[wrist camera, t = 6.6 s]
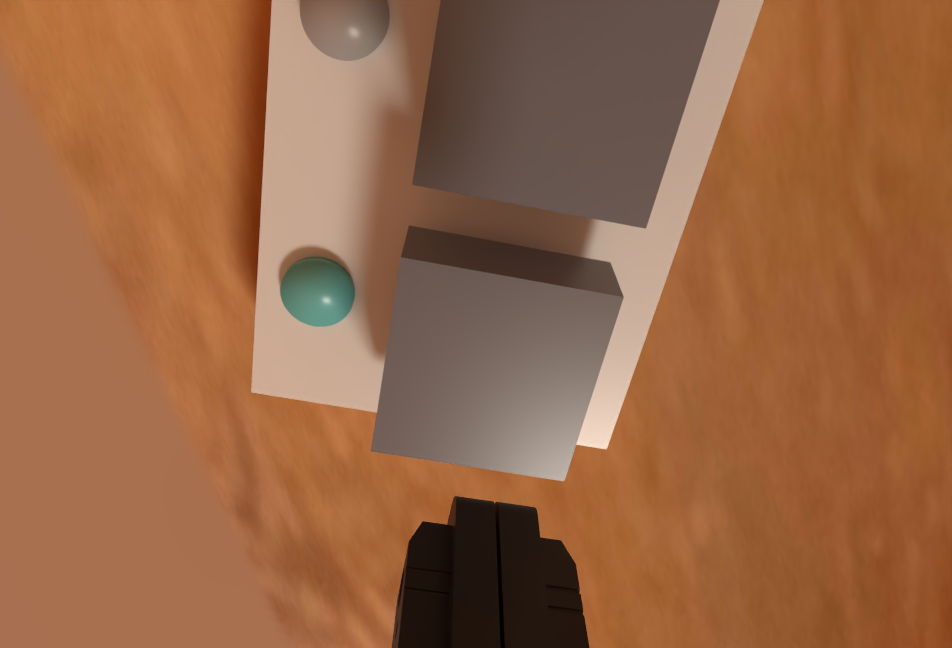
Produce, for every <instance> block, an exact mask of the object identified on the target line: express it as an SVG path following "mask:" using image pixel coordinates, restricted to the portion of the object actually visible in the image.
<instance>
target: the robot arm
mask: <svg viewBox="0 0 952 648" xmlns="http://www.w3.org/2000/svg"><path fill="white" fill-rule="evenodd" d="M579 591H580V588H579V581H578V575H577V569H576V564H575V562H574V561H573V559H572V557H571V556H570V554H569V553H568V551H567V549H566V548H565V546H564V545H563V543H562V541H561V540H553V539H546V538H540V532H539V523H538V514H537V510H536V508H535V507H528V506H521V505H515V504H508V503H501V502H496V503H495V504H494V502H492V501H485V500H478V499H471V498H465V497H458V496H455V497H454V499H453V502H452V506H451V510H450V515H449V519H448V524H447V525H445V524H438V523H431V522H422V523H421V525H420V526H419V528H418V529H417V531H416V532H415V534H414V535H413V536H412V538H411V539H410V541H409V544H408V549H407V554H406V559H405V564H404V569H403V574H402V579H401V584H400V589H399V594H398V599H397V607H396V616H395V624H394V633H393V642H392V648H589V643H588V637H587V630H586V624H585V618H584V615H583V606H582V600H581V594H579Z"/></svg>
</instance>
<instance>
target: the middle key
mask: <svg viewBox="0 0 952 648" xmlns="http://www.w3.org/2000/svg"><path fill="white" fill-rule="evenodd" d="M719 2H720V0H441V1H440V7H439V14H438V20H437V27H436V33H435V40H434V46H433V53H432V59H431V66H430V72H429V79H428V85H427V92H426V98H425V104H424V111H423V117H422V124H421V130H420V137H419V143H418V150H417V156H416V163H415V169H414V176H413V182H412V185H415V186H421V187H426V188H431V189H437V190H442V191H447V192H453V193H458V194H463V195H469V196H474V197H479V198H485V199H490V200H495V201H501V202H506V203H511V204H517V205H522V206H527V207H533V208H538V209H543V210H549V211H554V212H559V213H565V214H570V215H575V216H581V217H586V218H591V219H597V220H602V221H607V222H613V223H618V224H624V225H629V226H634V227H640V228H645V229H646V227H647V224H648V221H649V218H650V215H651V212H652V209H653V206H654V202H655V199H656V196H657V193H658V190H659V187H660V184H661V181H662V178H663V175H664V172H665V168H666V165H667V162H668V159H669V156H670V153H671V150H672V147H673V144H674V141H675V138H676V134H677V131H678V128H679V125H680V122H681V119H682V116H683V113H684V110H685V107H686V104H687V100H688V97H689V94H690V91H691V88H692V85H693V82H694V79H695V76H696V73H697V70H698V66H699V63H700V60H701V57H702V54H703V51H704V48H705V45H706V42H707V39H708V36H709V32H710V29H711V26H712V23H713V20H714V17H715V14H716V11H717V8H718V5H719Z"/></svg>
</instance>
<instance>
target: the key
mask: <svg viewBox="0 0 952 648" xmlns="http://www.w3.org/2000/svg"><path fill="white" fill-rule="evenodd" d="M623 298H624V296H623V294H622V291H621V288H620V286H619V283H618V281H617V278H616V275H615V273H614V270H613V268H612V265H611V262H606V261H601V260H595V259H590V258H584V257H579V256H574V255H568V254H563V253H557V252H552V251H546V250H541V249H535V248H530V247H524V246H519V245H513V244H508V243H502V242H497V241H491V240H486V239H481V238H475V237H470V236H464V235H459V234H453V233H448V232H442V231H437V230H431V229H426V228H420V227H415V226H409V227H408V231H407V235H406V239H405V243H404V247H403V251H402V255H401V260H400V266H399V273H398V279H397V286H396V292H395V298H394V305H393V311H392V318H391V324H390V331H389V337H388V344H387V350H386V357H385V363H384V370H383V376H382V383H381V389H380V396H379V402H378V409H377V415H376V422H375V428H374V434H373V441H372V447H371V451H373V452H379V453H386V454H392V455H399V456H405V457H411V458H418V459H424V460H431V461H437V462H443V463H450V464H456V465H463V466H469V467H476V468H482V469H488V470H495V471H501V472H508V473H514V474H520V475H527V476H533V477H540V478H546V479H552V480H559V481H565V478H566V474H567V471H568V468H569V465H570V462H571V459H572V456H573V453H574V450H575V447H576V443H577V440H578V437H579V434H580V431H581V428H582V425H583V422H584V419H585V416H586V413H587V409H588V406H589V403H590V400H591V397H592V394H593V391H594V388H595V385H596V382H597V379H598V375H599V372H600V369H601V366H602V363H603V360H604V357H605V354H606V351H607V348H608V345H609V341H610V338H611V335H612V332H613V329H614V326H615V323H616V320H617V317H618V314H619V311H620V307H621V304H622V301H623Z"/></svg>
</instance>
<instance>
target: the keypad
mask: <svg viewBox="0 0 952 648" xmlns="http://www.w3.org/2000/svg"><path fill="white" fill-rule="evenodd" d="M440 1H441V0H272V6H271V25H270V45H269V64H268V83H267V102H266V121H265V140H264V159H263V178H262V197H261V217H260V236H259V255H258V274H257V293H256V312H255V331H254V350H253V370H252V389H251V392H253V393H259V394H265V395H271V396H278V397H284V398H290V399H296V400H303V401H309V402H315V403H321V404H328V405H334V406H340V407H346V408H352V409H359V410H365V411H371V412H377V409H378V402H379V396H380V389H381V383H382V376H383V370H384V363H385V357H386V350H387V344H388V337H389V331H390V324H391V318H392V311H393V305H394V298H395V292H396V286H397V279H398V273H399V266H400V260H401V255H402V251H403V247H404V243H405V239H406V235H407V231H408V227H409V226H415V227H420V228H426V229H431V230H437V231H442V232H448V233H453V234H459V235H464V236H470V237H475V238H481V239H486V240H491V241H497V242H502V243H508V244H513V245H519V246H524V247H530V248H535V249H541V250H546V251H552V252H557V253H563V254H568V255H574V256H579V257H584V258H590V259H595V260H601V261H606V262H611V265H612V268H613V270H614V273H615V275H616V278H617V281H618V283H619V286H620V288H621V291H622V294H623V296H624V298H623V301H622V304H621V307H620V311H619V314H618V317H617V320H616V323H615V326H614V329H613V332H612V335H611V338H610V341H609V345H608V348H607V351H606V354H605V357H604V360H603V363H602V366H601V369H600V372H599V375H598V379H597V382H596V385H595V388H594V391H593V394H592V397H591V400H590V403H589V406H588V409H587V413H586V416H585V419H584V422H583V425H582V428H581V431H580V434H579V437H578V440H577V443H576V444H577V445H583V446H589V447H595V448H602V449H607V447H608V444H609V441H610V438H611V435H612V432H613V430H614V427H615V424H616V421H617V418H618V415H619V412H620V410H621V407H622V404H623V401H624V398H625V395H626V392H627V390H628V387H629V384H630V381H631V378H632V375H633V372H634V370H635V367H636V364H637V361H638V358H639V355H640V352H641V350H642V347H643V344H644V341H645V338H646V335H647V333H648V330H649V327H650V324H651V321H652V318H653V315H654V313H655V310H656V307H657V304H658V301H659V298H660V295H661V293H662V290H663V287H664V284H665V281H666V278H667V275H668V273H669V270H670V267H671V264H672V261H673V258H674V255H675V253H676V250H677V247H678V244H679V241H680V238H681V235H682V233H683V230H684V227H685V224H686V221H687V218H688V215H689V213H690V210H691V207H692V204H693V201H694V198H695V195H696V193H697V190H698V187H699V184H700V181H701V178H702V175H703V173H704V170H705V167H706V164H707V161H708V158H709V155H710V153H711V150H712V147H713V144H714V141H715V138H716V135H717V133H718V130H719V127H720V124H721V121H722V118H723V115H724V113H725V110H726V107H727V104H728V101H729V98H730V95H731V93H732V90H733V87H734V84H735V81H736V78H737V75H738V73H739V70H740V67H741V64H742V61H743V58H744V55H745V53H746V50H747V47H748V44H749V41H750V38H751V35H752V33H753V30H754V27H755V24H756V21H757V18H758V15H759V13H760V10H761V7H762V4H763V1H764V0H720V2H719V5H718V8H717V11H716V14H715V17H714V20H713V23H712V26H711V29H710V32H709V36H708V39H707V42H706V45H705V48H704V51H703V54H702V57H701V60H700V63H699V66H698V70H697V73H696V76H695V79H694V82H693V85H692V88H691V91H690V94H689V97H688V100H687V104H686V107H685V110H684V113H683V116H682V119H681V122H680V125H679V128H678V131H677V134H676V138H675V141H674V144H673V147H672V150H671V153H670V156H669V159H668V162H667V165H666V168H665V172H664V175H663V178H662V181H661V184H660V187H659V190H658V193H657V196H656V199H655V202H654V206H653V209H652V212H651V215H650V218H649V221H648V224H647V227H646V229H645V228H640V227H634V226H629V225H624V224H618V223H613V222H607V221H602V220H597V219H591V218H586V217H581V216H575V215H570V214H565V213H559V212H554V211H549V210H543V209H538V208H533V207H527V206H522V205H517V204H511V203H506V202H501V201H495V200H490V199H485V198H479V197H474V196H469V195H463V194H458V193H453V192H447V191H442V190H437V189H431V188H426V187H421V186H415V185H412V182H413V176H414V169H415V163H416V156H417V150H418V143H419V137H420V130H421V124H422V117H423V111H424V104H425V98H426V92H427V85H428V79H429V72H430V66H431V59H432V53H433V46H434V40H435V33H436V27H437V20H438V14H439V7H440Z"/></svg>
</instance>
